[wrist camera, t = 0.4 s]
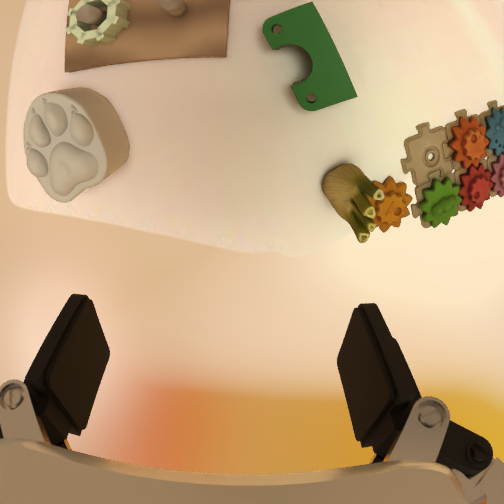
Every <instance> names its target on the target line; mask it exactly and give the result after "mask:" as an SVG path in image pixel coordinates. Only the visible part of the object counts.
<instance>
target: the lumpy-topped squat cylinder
mask: <svg viewBox="0 0 504 504" xmlns="http://www.w3.org/2000/svg"><path fill="white" fill-rule="evenodd" d="M24 148H25V153H26V156H27V166H28V169H29V171H30V172H31V173H32V174H33V175H35V176H36V178H37V179H38V181H39V182H40V184H41V185H42V187H43V188H44V190H45V191H46V193H47V194H48V195H49V196H50V197H51V198H52V199H54V200H56V201H59V202H69V201H71V200H73V199H74V198H75V197H76V196H78V195H79V194H80V193H81V192H82V191H84V190H85V189H87V188H89V187H92V186H95V185H97V184H99V183H100V182H102V181H103V180H104V179H105V178H106V177H108V176H109V175H110V174H111V173H112V172H114V171H115V170H116V169H117V168H119V167H120V166H121V165H123V164H124V163H125V161H126V160H127V158H128V155H129V141H128V137H127V135H126V132H125V130H124V127H123V125H122V122H121V120H120V118H119V116H118V114H117V112H116V111H115V109H114V107H113V106H112V104H111V103H110V102H109V100H108V99H106V98H105V97H104V96H102V95H100V94H99V93H97V92H95V91H93V90H91V89H87V88H72V89H65V90H59V91H53V92H49V93H44V94H42V95H40V96H38V97H37V98H36V99H35V100H34V101H33V103H32V104H31V106H30V108H29V110H28V112H27V115H26V119H25V123H24Z"/></svg>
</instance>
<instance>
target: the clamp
mask: <svg viewBox="0 0 504 504" xmlns="http://www.w3.org/2000/svg"><path fill="white" fill-rule="evenodd" d="M276 25H280V26H281V27H282V32H281V33H279V34H275V33H274V32H273V28H274V27H275V26H276ZM263 33H264V35H265V37H266V38H267V40H268V42H269V44H270V46H271V48H272V50H278V49H280V48H281V47H283V46H286V45H297V46H300V47H302V48H303V49H305V50H306V51H307V52H308V54H309V55H310V57H311V59H312V64H313V68H312V72H311V74H310V75H309V76H308V77H307V78H306V79H305V80H303V81H300V82H295V83H294V84H293V85H292V86H291V87H292V89H293V91H294V93H295V95H296V98H297V100H298V102H299V104H300V105H301V107H302V108H304V109H305V110H308V111H316V110H319V109H322V108H325V107H328V106H331V105H334V104H337V103H340V102H343V101H346V100H349V99H352V98H355V97H357V94H356V92H355V89H354V87H353V85H352V82H351V80H350V78H349V75H348V73H347V71H346V68H345V66H344V64H343V62H342V59H341V57H340V55H339V53H338V51H337V49H336V47H335V44H334V42H333V40H332V38H331V36H330V34H329V32H328V30H327V28H326V26H325V24H324V23H323V21H322V19H321V17H320V15H319V13H318V11H317V9H316V8H315V6H314V4H313V2H310V3H307V4H304V5H301V6H298V7H296V8H293V9H290V10H288V11H285V12H283V13H280V14H278V15H275V16H273V17H270V18H268V19H267V20H266V21H265V22H264V24H263ZM310 93H312V94H315V95H316V97H317V99H316V100H315V101H312V102H311V101H309V100H308V99H307V97H306V96H307V95H308V94H310Z"/></svg>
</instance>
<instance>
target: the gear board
mask: <svg viewBox="0 0 504 504" xmlns="http://www.w3.org/2000/svg"><path fill="white" fill-rule="evenodd" d="M79 1H80V0H69V7H68V12H69V9H70V8H74V7H75V6H76V5H77V4H78V3H79ZM125 1H127V2H129V4H130V6H131V9H129V10H128V12H127V21H130V24H129V26H128V28H123V29H122V30H121V31H120V32H119V33H118V34H117V35H116V36H115V37H116V40H115V41H114V42H112V43H105V42H98V44H97V46H94V45H87V44H81V43H77V41H78V38H77V37H76V36H72V35H68V34H67V31H66V45H65V72H73V71H78V70H83V69H88V68H94V67H100V66H106V65H112V64H119V63H127V62H135V61H145V60H156V59H170V58H191V57H226V49H227V33H228V17H229V3H230V0H125ZM107 9H108V6H104V7H100V8H96V7H93V6H91V5H87V4H86V5H83V6H81V7H80V8H79V9H78V10H77V12H76V19H77V20H78V21H81V22H85V23H89V24H91V29H92V30H95V29H97V28H98V27H99V26H100V25H101V24H102V23H103V22H104V21H105V20H106V18H107ZM69 23H70V16H67V28H68V27H69Z"/></svg>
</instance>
